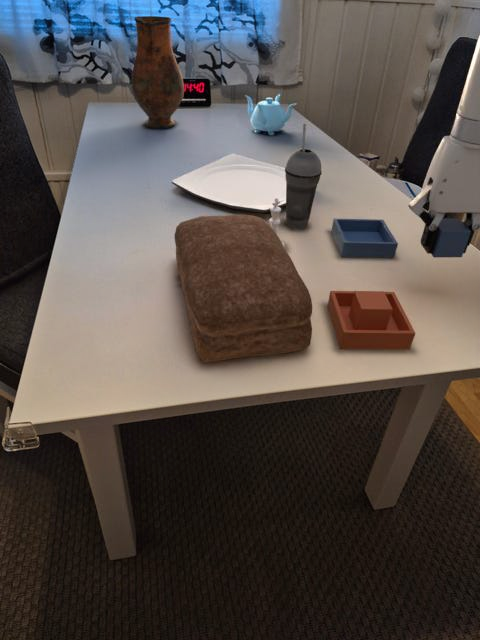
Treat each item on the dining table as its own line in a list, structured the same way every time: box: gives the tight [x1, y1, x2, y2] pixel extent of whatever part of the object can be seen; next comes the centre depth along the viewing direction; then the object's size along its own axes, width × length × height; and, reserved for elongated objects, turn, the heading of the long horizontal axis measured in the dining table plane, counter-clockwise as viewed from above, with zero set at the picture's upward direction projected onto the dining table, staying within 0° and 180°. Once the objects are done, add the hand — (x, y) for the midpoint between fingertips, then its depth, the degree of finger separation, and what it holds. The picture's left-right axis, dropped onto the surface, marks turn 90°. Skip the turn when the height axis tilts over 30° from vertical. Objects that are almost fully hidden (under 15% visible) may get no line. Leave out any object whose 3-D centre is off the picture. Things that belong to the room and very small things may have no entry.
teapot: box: [244, 93, 297, 136], centre depth 145 cm, size 13×13×10 cm
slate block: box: [431, 218, 471, 259], centre depth 70 cm, size 4×4×4 cm
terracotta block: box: [349, 290, 393, 330], centre depth 66 cm, size 4×4×4 cm
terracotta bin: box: [326, 290, 416, 351], centre depth 67 cm, size 10×10×3 cm
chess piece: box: [268, 198, 286, 249], centre depth 83 cm, size 5×5×10 cm
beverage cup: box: [284, 123, 323, 231], centre depth 88 cm, size 7×7×20 cm
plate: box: [171, 153, 286, 214], centre depth 108 cm, size 29×29×3 cm
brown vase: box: [131, 15, 185, 130], centre depth 142 cm, size 17×21×30 cm
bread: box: [174, 213, 313, 363], centre depth 68 cm, size 17×29×11 cm, turn 12°
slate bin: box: [330, 218, 399, 259], centre depth 87 cm, size 10×10×3 cm
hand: (443, 248), depth 71 cm, fingers closed on slate block, 4 cm apart
